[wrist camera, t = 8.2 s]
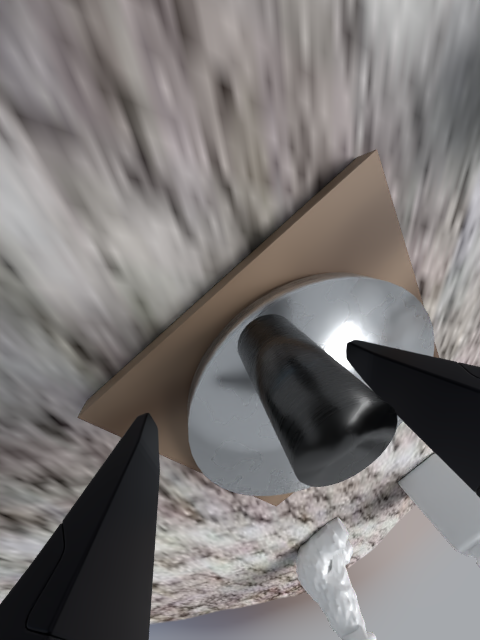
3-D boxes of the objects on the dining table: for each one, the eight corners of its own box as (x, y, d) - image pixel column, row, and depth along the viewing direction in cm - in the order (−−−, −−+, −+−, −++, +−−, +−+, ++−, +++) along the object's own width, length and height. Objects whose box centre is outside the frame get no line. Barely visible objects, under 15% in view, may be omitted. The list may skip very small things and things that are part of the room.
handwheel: (277, 497, 19) (324, 626, 13) (120, 411, 11) (47, 634, 5) (429, 382, 18) (558, 462, 12) (373, 201, 10) (662, 161, 4)
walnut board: (86, 401, 12) (77, 417, 11) (357, 157, 11) (376, 149, 10) (271, 492, 21) (276, 506, 20) (430, 367, 20) (444, 374, 19)
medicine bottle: (411, 493, 32) (525, 624, 21) (396, 482, 29) (522, 629, 18) (448, 464, 31) (586, 584, 21) (437, 449, 28) (594, 582, 17)
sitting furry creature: (346, 538, 32) (427, 688, 22) (297, 566, 32) (357, 735, 21) (339, 514, 28) (436, 686, 18) (282, 546, 27) (347, 746, 17)
